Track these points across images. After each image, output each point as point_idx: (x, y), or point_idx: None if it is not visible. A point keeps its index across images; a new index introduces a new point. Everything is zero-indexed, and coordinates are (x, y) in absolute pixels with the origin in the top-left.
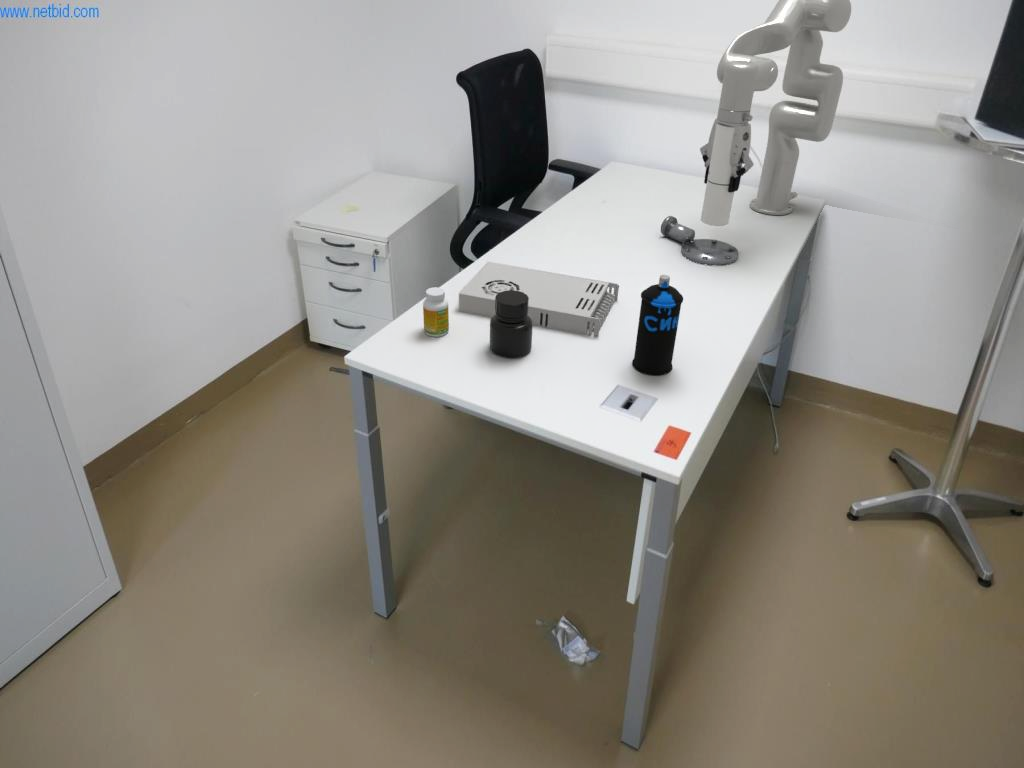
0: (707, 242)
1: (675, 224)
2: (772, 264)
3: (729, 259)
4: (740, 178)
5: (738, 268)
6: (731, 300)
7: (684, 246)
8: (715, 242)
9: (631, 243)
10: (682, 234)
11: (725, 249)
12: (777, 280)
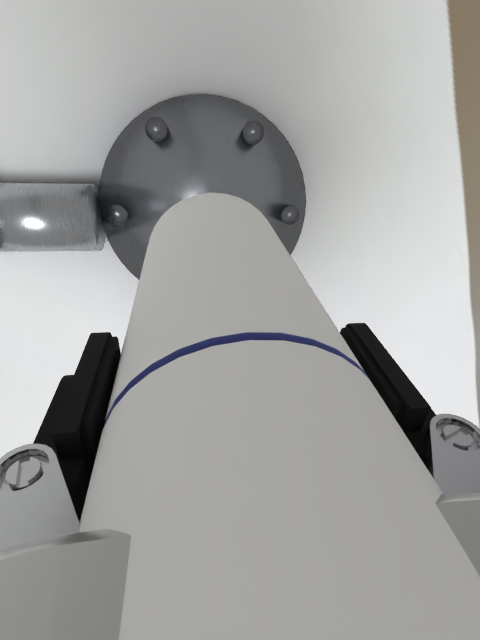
0: (149, 164)
1: (8, 236)
2: (408, 78)
3: (300, 222)
4: (432, 412)
5: (335, 218)
6: (406, 365)
7: (138, 266)
8: (166, 134)
9: (16, 350)
10: (86, 250)
11: (238, 160)
12: (462, 187)
